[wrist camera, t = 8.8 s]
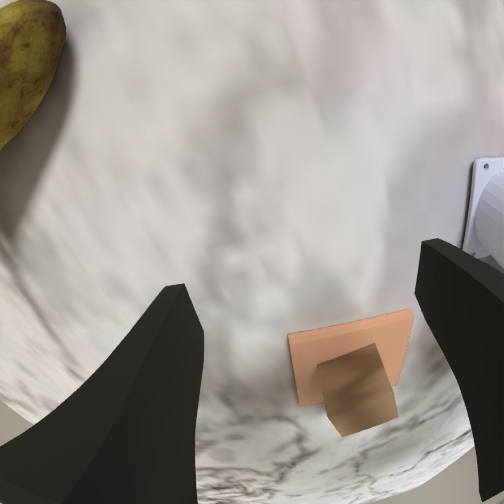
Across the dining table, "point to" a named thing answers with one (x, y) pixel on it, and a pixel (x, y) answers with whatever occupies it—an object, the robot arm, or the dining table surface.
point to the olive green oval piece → (27, 60)
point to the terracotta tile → (348, 349)
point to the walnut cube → (357, 391)
